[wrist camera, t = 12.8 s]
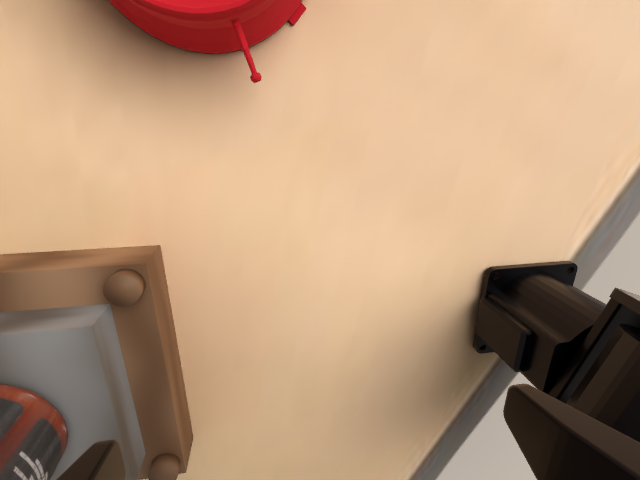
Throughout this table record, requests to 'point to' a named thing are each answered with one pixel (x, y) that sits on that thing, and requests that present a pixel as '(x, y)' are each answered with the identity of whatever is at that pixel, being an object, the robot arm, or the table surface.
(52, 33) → the table surface
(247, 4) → the alarm clock
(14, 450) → the supplement bottle
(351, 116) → the table surface
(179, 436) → the tower base
